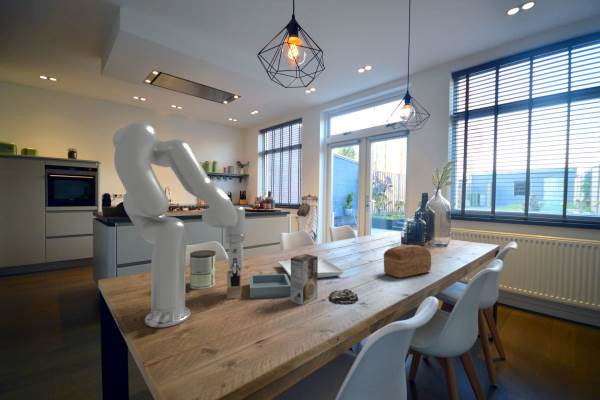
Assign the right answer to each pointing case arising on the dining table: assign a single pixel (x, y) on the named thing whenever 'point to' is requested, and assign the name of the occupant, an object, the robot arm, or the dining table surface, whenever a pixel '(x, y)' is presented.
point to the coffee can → (202, 269)
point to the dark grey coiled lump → (343, 297)
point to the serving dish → (269, 286)
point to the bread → (407, 260)
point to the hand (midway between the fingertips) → (236, 281)
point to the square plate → (323, 268)
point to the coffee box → (304, 278)
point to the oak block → (233, 291)
